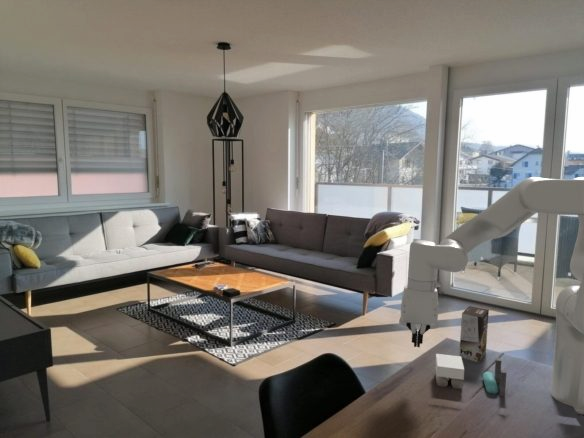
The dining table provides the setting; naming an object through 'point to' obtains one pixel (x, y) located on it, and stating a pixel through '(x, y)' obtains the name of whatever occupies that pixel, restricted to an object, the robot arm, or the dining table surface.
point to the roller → (490, 382)
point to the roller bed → (458, 384)
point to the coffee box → (473, 333)
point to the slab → (449, 366)
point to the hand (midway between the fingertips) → (416, 345)
